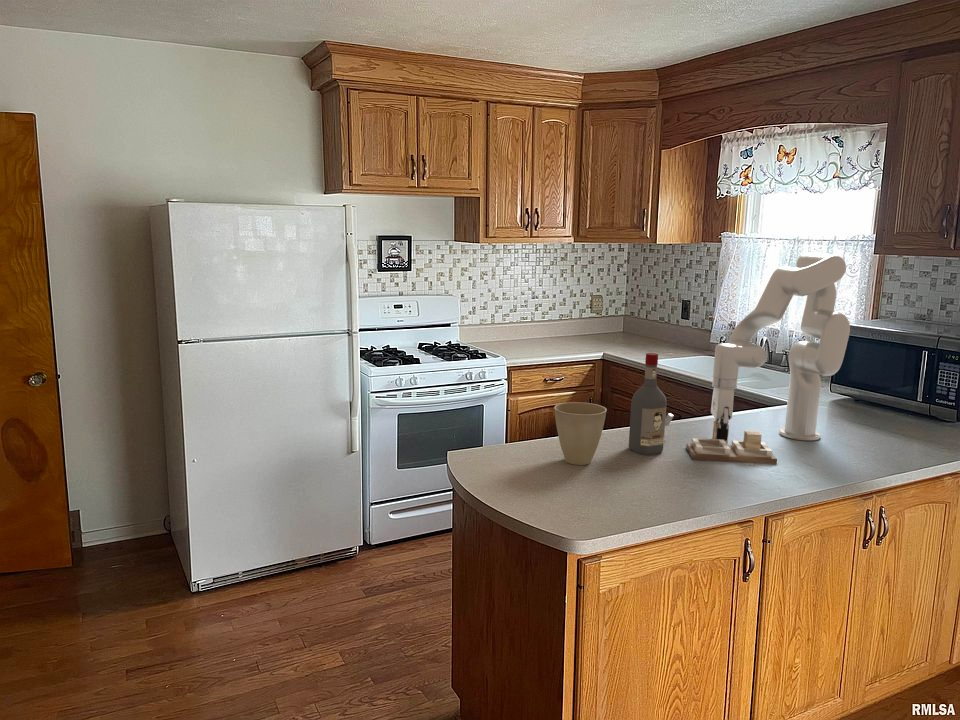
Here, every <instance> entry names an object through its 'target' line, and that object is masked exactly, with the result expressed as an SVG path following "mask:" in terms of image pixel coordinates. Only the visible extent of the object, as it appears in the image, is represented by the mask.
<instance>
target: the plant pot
mask: <svg viewBox="0 0 960 720" xmlns="http://www.w3.org/2000/svg"><path fill="white" fill-rule="evenodd" d="M607 410H608V409H607V407H605V406H602V405H601V404H600V405H599V404H596V403H590V402H580V401H579V402H571V401H569V402H561V403H558V404H556V405H554V416H555V425H556V431H557V435H558V436H557V437H558V439H559V444H560V448H561V452H562V454H563V458H564V460H565V462H566V463H568V464H571V465H576V466H585V465H589V464H591V462H592V460H593V458H594V457H595V453H596V451H597V449H598V446H599V443H600V439H601V436H602V433H603V430H604V426H605V421H606V416H607V412H608V411H607Z"/></svg>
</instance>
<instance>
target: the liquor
mask: <svg viewBox="0 0 960 720" xmlns="http://www.w3.org/2000/svg"><path fill="white" fill-rule="evenodd" d="M658 364H659V353H655V352H647V353H645V364H644V365H645V368H644V369H645V371H644V380H643V383H642V386H640V387H639V388H638V389H637V390H636V391H635V393H633V395H632V398H631V403H630V416H629V417H630V418H629V419H630V420H629V431H628V432H629V435H628V449H629V450H630V451H632V452H634V453H637V454H639V455H644V456H651V455H657V454H662V452H663V449H664V446H665V445H664V443H665V435H664V431H665V432H666V426H665V418H666V417H667V413H666V412H667V397H666V395H665V393H663V391H662V390H661V389H660V388H659V386H658V383H657V370H658Z"/></svg>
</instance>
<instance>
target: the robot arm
mask: <svg viewBox="0 0 960 720" xmlns="http://www.w3.org/2000/svg"><path fill="white" fill-rule="evenodd" d="M797 258H798V259H797V260H796V261H797V262H796V267H791V266H781V267H778V268H777V269H775V270H774V271H773V273H772V274H771V276H770V278H769V280H768V282H767V284H766V286H765V287H764V288H765V289H764V290H763V292H762V295H761V296H760V298H759V300H758V303H756V307H755V308H754V309H753V310H752V311H751V312H749V313H748V314H747V315H745V317H744V318H743V319H742V320H741V321H740V322H739V323H738V324H737V325H736V327H735V328H734V329H733V331H732V333H731V335H730V337H729V339H728V340H727V343H726V342H725V343H724V342H723V343H722V342H721V343H718V344H717V345H716V346H715V348H714V359H713V373H712V384H711V387H712V388H713V391H712V396H711V397H712V399H711V406H710V414H711V415H712V416H713V418H714V421H719V428H717V438H716V439H722V440H724V441H727V435H728V436H729V433H728V424H729V422H730V420H732V419H733V411H734V397H735V396H734V395H735V394H734V393H735V391H734V390H736V389H737V388H738V383H739V382H738V381H739V380H738V379H739V369H740V368H748V369H757V368H759V367H762V366H763V365H764V364H765V363H766V362H767V358H768V353H767V352H766V349H765V348H764V347H763V346H760V345H759V344H756V343H752V339H753V338H754V336H755V335H756V334H757V333H758V332H759V331H760V330H762V329H763V328H766V327H767V326H770V325H773V324H775V323H778V322H780V321H781V320H782V319H783V318H784V314H785V313H786V311H787V308H788V306H789V305H790V303H791V301H792V299H793V297H794V296H797V297H806V300H805V307H804V310H803V314H802V317H801V322H800V329H801V332H802V333H803V334H804V335H805V336H806V337H810V338H814V339H817V340H819V343H818V342H816V341H810V340H801V341H798V342H796V343H795V344H793V345H792V347H791V348H790V350H789V353H788V364H789V383H788V393H787V403H786V414H785V423H784V427H781V428H779V434H780V435H781V436H782V437H785V438H787V439H788V438H789V439H792V440H796V441H797V440H798V441H806V442H807V441H818V440H819V439H821V433H820V432H818V431H817V424H818V423H817V422H818V415H819V414H818V413H819V406H820V397H821V396H820V395H821V390H822V389H821V388H822V387H821V385H822V380H821V377H820V376H823V377H831V376H834V375H835V374H836V373H838V371H839V370H840V369H841V366H842V364H843V361H844V357H845V354H846V350H847V346H848V341H849V337H850V334H851V333H850V332H851V326H850V325H851V324H850V321H849V319H848V317H847V316H846V315H845V314H843V313H842V312H838V311H835V306H836V299H837V288H836V283H837V282H839V281H840V280H841V279H842V278H843V277H844V275H845V273H846V271H847V265H846V261H845V260H844V258H843V257H841V256H840V255H836V254H832V253H822V252H821V253H820V252H807V253H803V254H801V255H799V257H797ZM721 422H722V423H721Z"/></svg>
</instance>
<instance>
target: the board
mask: <svg viewBox="0 0 960 720" xmlns="http://www.w3.org/2000/svg"><path fill="white" fill-rule="evenodd" d="M686 447H687V448H686V449H688V450H687V451H688V453H689V455H690V456H691V458H693V459H692V461H693V460H694V461H695V460H696V461H709V462H711V461H712V462H714V461H715V462H728V463H729V462H730V463H753V464H769V465H772V464H773V465H777V464H778V458H777V456H776V455H774V454H773V450H772V449H771V448H770V447H769V446H768V445H767V444H766V442H765V441H762V433H761V432H760V431H759V430H744V431H743V440H741V439H740V440H739V439H737V440H736V439H732V440H731V444H728V443H726V442H725V441H724V440H722V439H712V438H697V437H696V438H695V437H692V438H691V442H686Z"/></svg>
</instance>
